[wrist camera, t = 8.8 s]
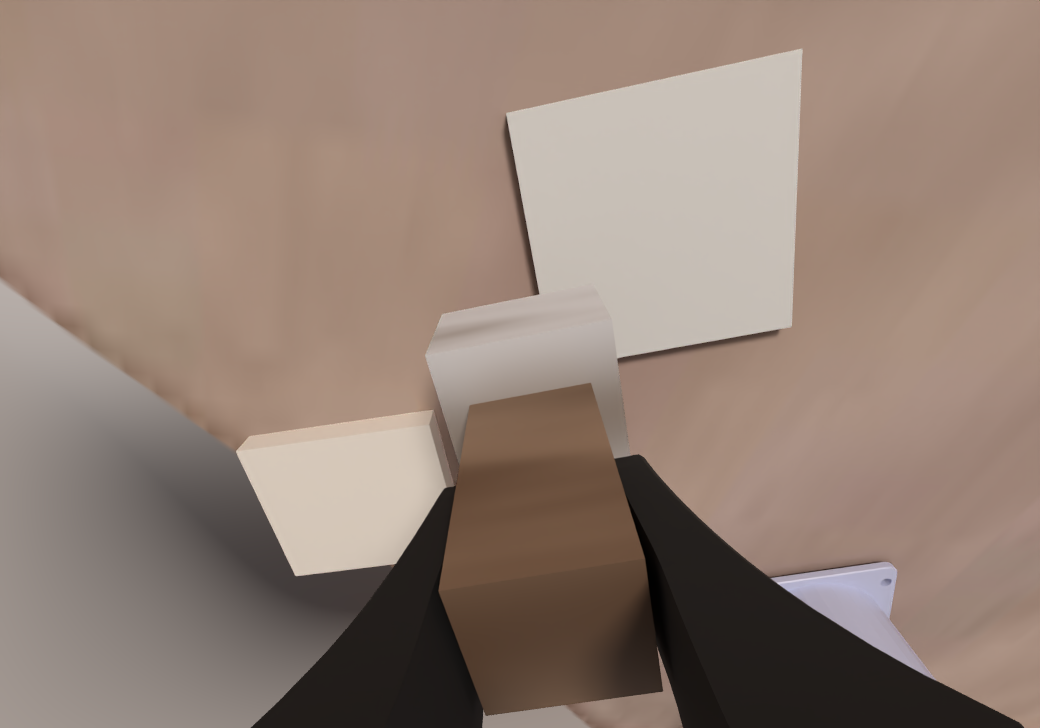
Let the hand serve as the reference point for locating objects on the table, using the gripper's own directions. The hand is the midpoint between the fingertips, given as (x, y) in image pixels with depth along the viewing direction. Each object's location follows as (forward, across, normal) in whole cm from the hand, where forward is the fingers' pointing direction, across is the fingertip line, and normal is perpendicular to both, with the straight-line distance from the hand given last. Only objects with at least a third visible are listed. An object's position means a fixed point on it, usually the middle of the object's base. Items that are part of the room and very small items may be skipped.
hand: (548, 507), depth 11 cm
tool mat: (+9, -5, -3) cm, 11 cm away
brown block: (+5, 0, 0) cm, 5 cm away
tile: (+9, +5, +6) cm, 12 cm away
